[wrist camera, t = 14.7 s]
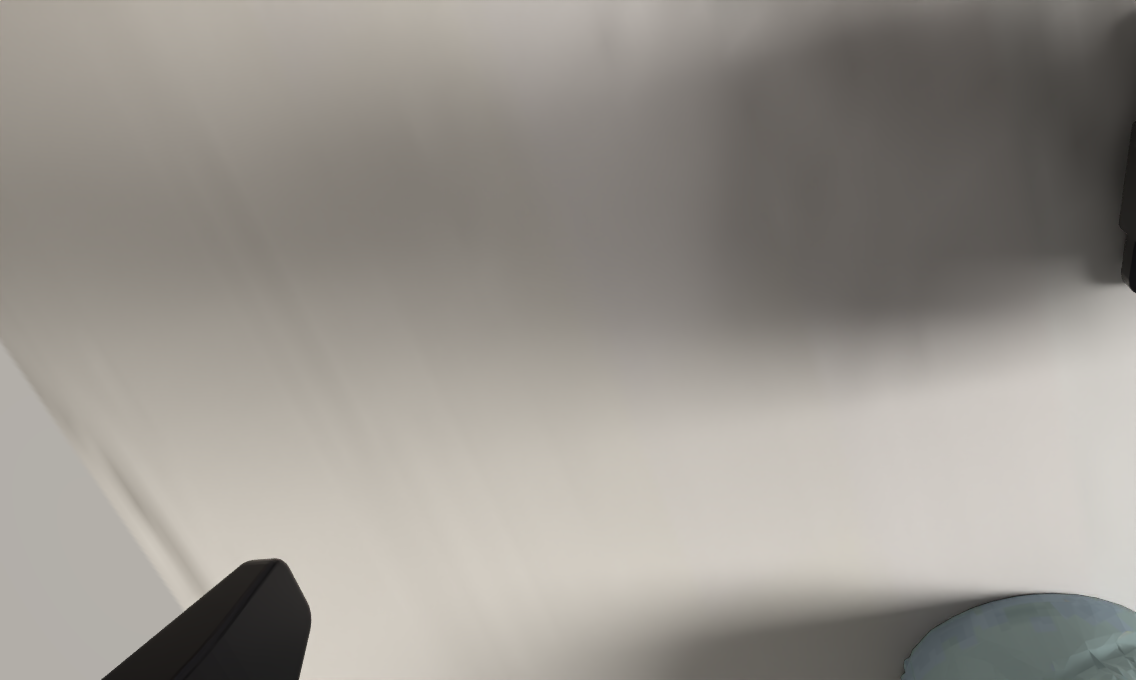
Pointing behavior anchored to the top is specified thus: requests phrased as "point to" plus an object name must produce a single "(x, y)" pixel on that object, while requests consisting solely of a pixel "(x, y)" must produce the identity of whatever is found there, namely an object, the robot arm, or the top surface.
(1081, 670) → the teal canister
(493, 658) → the top surface
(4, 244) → the top surface
